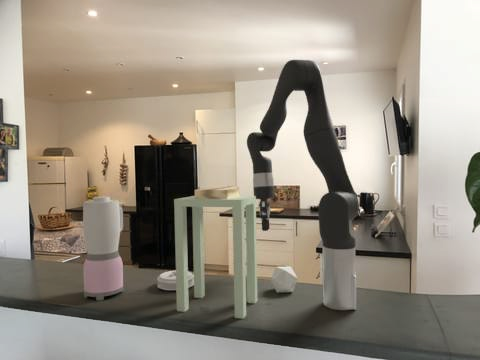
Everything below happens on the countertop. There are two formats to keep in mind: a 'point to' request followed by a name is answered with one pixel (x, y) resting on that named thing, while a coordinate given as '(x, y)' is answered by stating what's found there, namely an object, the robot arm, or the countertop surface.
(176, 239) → the mint green side table
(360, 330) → the countertop surface
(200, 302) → the countertop surface
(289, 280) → the die
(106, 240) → the blender
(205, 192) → the cheese board
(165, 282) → the lid
